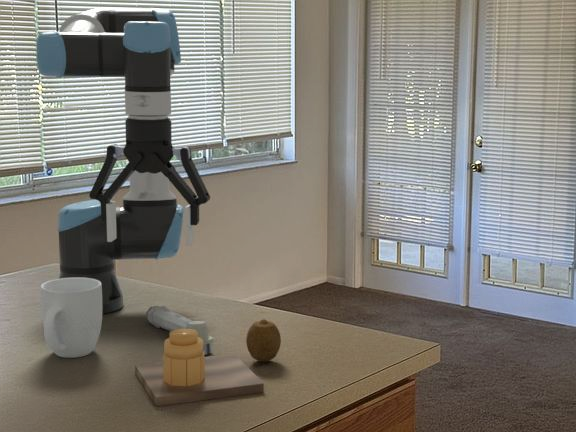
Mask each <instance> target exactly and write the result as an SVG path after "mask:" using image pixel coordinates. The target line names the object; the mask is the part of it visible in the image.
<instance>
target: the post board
mask: <svg viewBox="0 0 576 432" xmlns="http://www.w3.org/2000/svg"><path fill="white" fill-rule="evenodd" d="M204 359H205V378H204V379H203V381H202V382H201V383H199V384H195V385H191V386H173V385H170V384H168V383H166V382H165V381H164V380H163V361H158V362H149V363H140V364H135V365H134V368H135V369H134V374H135V376H136V377H137V378H138V380H139V381H140V383H141V384H142V386H143V388H144V389H145V391H146V393H147V394H148V396H149V397H150V399H151V401H152V402H153V403H154V405H155V407H163V406H169V405H176V404H184V403H191V402H192V403H193V402H200V401H206V400H207V401H208V400H213V399H214V400H215V399H221V398H229V397H236V396H238V397H239V396H243V395H244V396H245V395H252V394H258V393H259V394H260V393H264V392H265V391H264V390H265V387H264V386H265V384H264V382H263V381H262V380H261V379H260V378H259V377H258V376H257V375H256V374H255V373H254V372H253V371H252V370H251V369H250V368H249V367H248V366H247V365H246V364H245V363H244V362H243V361H242V360H241V359H240V358H239V357H238V356H237V355H236V354H235V353H226V354H218V355H209V356H204Z"/></svg>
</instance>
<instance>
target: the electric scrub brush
mask: <svg viewBox="0 0 576 432" xmlns="http://www.w3.org/2000/svg"><path fill="white" fill-rule="evenodd" d="M145 315H146V321H147V322H148V323H150V324H151V325H153V326H154V327H155V328H157V329H159V328H160V327H161V329H165V330H168V331H169V332H171V331H173V330H176V329H193V330H196V331H197V332H198V337H199V338H201V339H202V340H203V351H204V356H205V355H206V356H207V355H209V354H211V353H212V343H213V342H214V340H213V339H214V338H213V336H210V335H209V330H208V324H207V322H206V321H205V320H191V319H190V318H188V317H185V316H183V315H180V314H179V313H176V312H175V311H173V310H170V309H169V308H168V307H167V306H165V305H162V306H161V305H160V306H159V305H156V306H155V305H154V306H150V307H149V308H148V310H147V311H146V314H145Z"/></svg>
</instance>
